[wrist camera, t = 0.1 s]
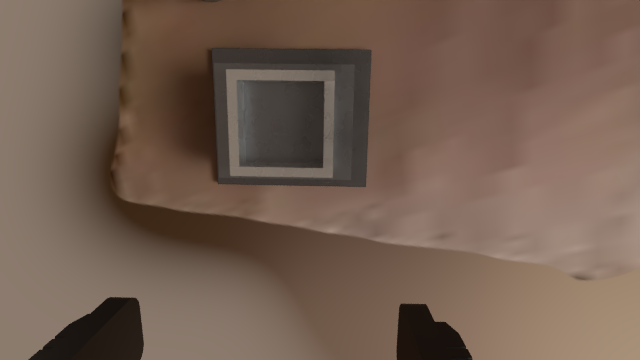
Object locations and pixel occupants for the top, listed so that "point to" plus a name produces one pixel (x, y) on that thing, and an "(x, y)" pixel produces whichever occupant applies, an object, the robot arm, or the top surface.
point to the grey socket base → (291, 116)
